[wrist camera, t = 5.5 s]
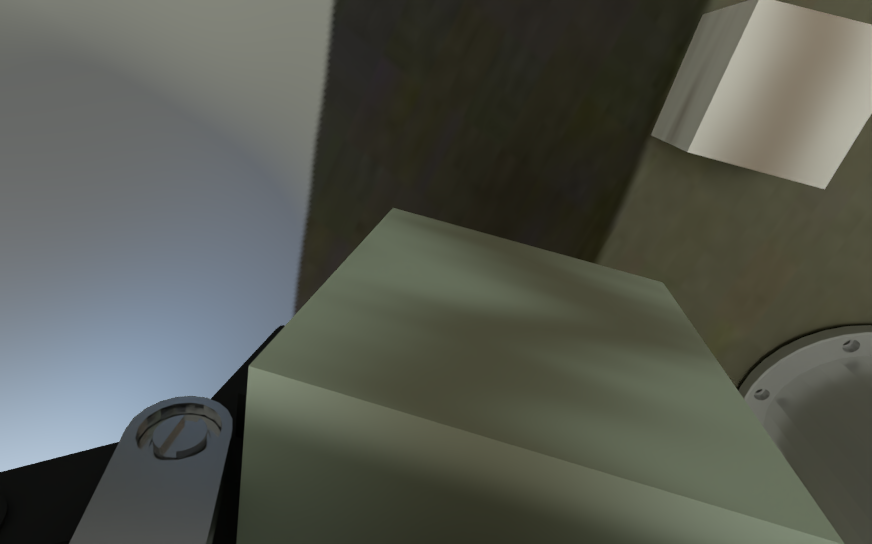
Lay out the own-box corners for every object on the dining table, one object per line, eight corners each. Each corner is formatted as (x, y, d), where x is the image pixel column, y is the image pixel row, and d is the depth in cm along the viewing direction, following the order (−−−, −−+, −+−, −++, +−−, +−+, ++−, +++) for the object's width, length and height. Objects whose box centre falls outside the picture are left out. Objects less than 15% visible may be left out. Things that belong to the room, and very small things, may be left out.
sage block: (662, 282, 10) (846, 544, 4) (565, 477, 12) (604, 797, 7) (393, 207, 10) (249, 365, 5) (352, 412, 13) (227, 670, 7)
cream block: (822, 45, 23) (918, 36, 17) (757, 163, 25) (824, 189, 20) (702, 14, 23) (760, -4, 18) (650, 135, 25) (687, 152, 20)
